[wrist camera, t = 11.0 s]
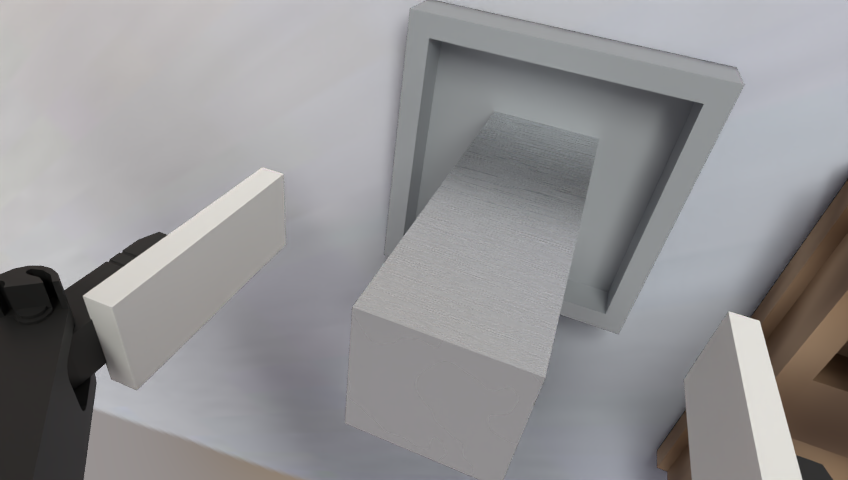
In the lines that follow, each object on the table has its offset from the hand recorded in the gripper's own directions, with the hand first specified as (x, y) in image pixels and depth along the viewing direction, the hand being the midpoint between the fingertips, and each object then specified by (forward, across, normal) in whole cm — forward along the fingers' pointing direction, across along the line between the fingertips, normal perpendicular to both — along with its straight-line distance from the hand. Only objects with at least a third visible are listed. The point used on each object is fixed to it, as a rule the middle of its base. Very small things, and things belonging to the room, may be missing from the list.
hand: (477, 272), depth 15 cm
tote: (+7, 0, 0) cm, 7 cm away
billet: (+7, 0, 0) cm, 7 cm away
